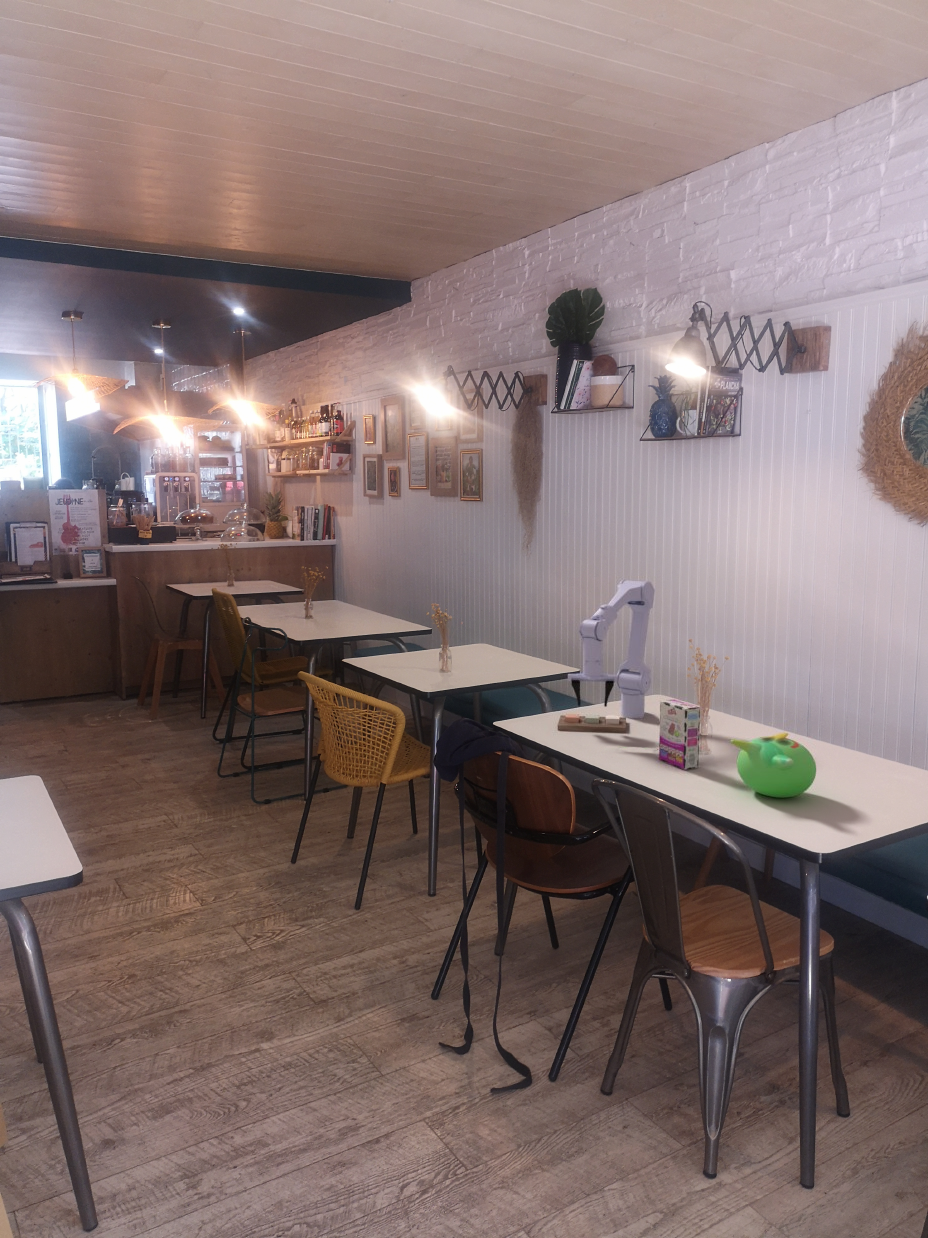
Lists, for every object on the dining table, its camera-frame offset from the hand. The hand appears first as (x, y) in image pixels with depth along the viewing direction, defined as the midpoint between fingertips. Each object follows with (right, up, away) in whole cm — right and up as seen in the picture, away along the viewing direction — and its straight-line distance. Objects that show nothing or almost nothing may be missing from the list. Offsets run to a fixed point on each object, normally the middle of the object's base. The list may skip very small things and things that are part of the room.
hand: (592, 705), depth 270 cm
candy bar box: (+19, -13, -28) cm, 36 cm away
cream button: (+7, -7, +4) cm, 10 cm away
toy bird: (+36, -17, -53) cm, 66 cm away
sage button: (+1, -7, +5) cm, 9 cm away
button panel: (+1, -8, +6) cm, 10 cm away
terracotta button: (-5, -7, +6) cm, 11 cm away
